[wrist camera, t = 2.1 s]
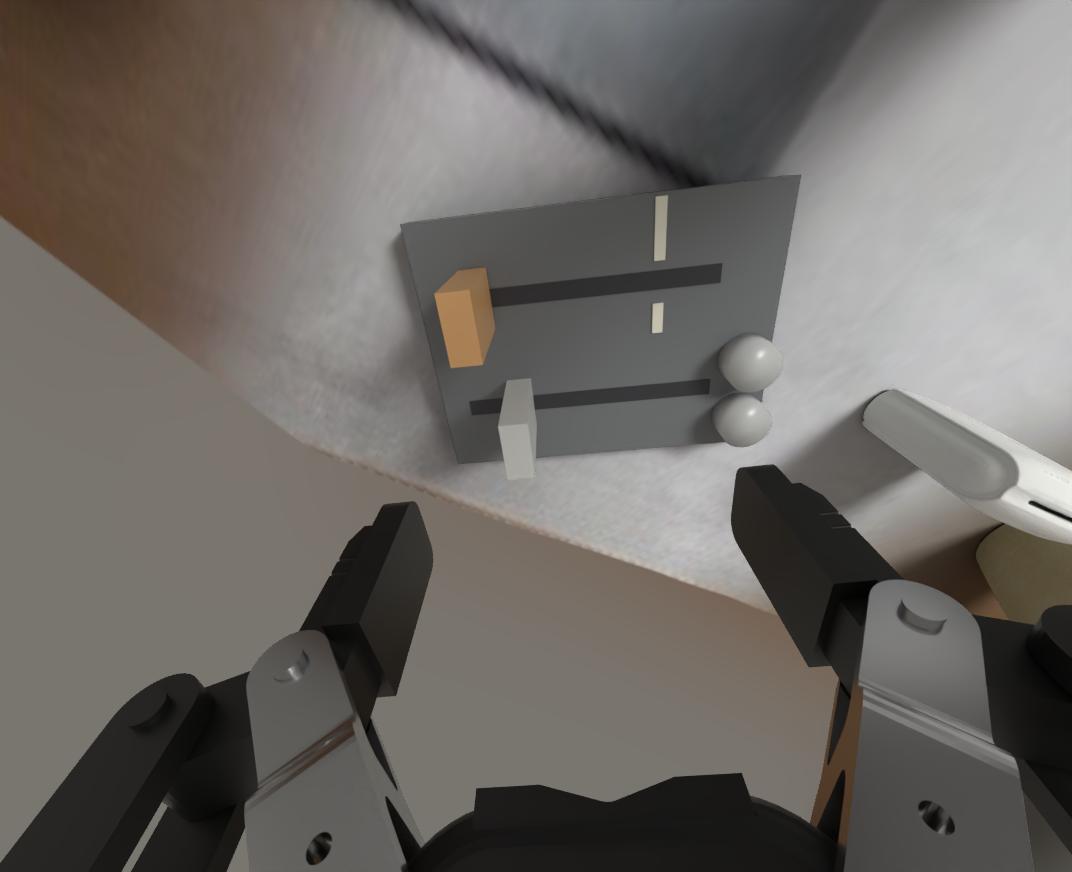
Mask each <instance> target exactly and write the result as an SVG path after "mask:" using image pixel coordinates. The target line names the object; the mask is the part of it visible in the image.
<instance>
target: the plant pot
mask: <svg viewBox="0 0 1072 872" xmlns="http://www.w3.org/2000/svg"><path fill="white" fill-rule="evenodd" d="M976 560H977V562H978V564H979V566H980V568H981V570H982V572H983V574H984V576H985V578H986V580H987V582H988V584H989V586H990V588H991V590H992V592H993V593H994V595H995V597H996V599H997V600H998V602H999V604H1000V606H1001V607H1002V609H1003V611H1004V612H1005V614H1006V616H1007V617H1008V619H1009V621H1014V622H1021V623H1027V624H1033V625H1035V624H1036V622H1037V621H1038V619H1039V618H1040V616H1041V615H1042V613H1043V612H1044V611H1045V610H1046V609H1048V608H1049V607H1053V606H1056V605H1072V545H1071V544H1065V543H1060V542H1056V541H1051V540H1047V539H1044V538H1041V537H1037V536H1035V535H1032V534H1029V533H1027V532H1024V531H1022V530H1019V529H1017V528H1014V527H1012V526H1010V525H1007V524H1004V525H1002V526H1001V527H999V528H997V529H996V530H994V531H993V532H991V533H990V534H989V535H988V536H987V537H985V538H984V540H983V541H982V542H981V543H980V545H979V546H978V548H977V552H976Z"/></svg>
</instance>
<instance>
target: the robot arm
mask: <svg viewBox="0 0 1072 872" xmlns="http://www.w3.org/2000/svg"><path fill="white" fill-rule="evenodd" d="M731 525H732V531H733V535H734V538H735V540H736V542H737V544H738V546H739V548H740V549H741V551H742V553H743V555H744V556H745V558H746V560H747V561H748V563H749V565H750V567H751V568H752V570H753V572H754V574H755V575H756V577H757V579H758V580H759V582H760V584H761V586H762V587H763V589H764V591H765V593H766V594H767V596H768V598H769V599H770V601H771V603H772V605H773V606H774V608H775V610H776V611H777V613H778V615H779V617H780V618H781V620H782V622H783V624H784V625H785V627H786V628H787V630H788V632H789V634H790V635H791V637H792V639H793V641H794V643H795V644H796V646H797V648H798V649H799V651H800V653H801V655H802V656H803V658H804V660H805V661H806V663H807V665H808V666H809V667H819V666H832V667H833V669H834V671H835V673H836V674H837V676H838V677H839V680H838V683H837V686H836V690H835V697H834V703H833V709H832V715H831V721H830V727H829V733H828V739H827V745H826V751H825V757H824V763H823V769H822V774H821V780H820V784H819V788H818V791H817V795H816V799H815V802H814V807H813V811H812V815H811V820H810V823H808V822H807V821H805V820H804V819H802V818H801V817H799V816H797V815H796V814H794V813H792V812H790V811H788V810H786V809H784V808H782V807H780V806H778V805H776V804H773V803H770V802H768V801H766V800H763V799H760V798H757V797H753V796H750V795H749V792H748V790H747V787H746V784H745V781H744V778H743V776H742V773H733V774H716V775H699V776H682V777H673V778H671V779H668V780H666V781H663V782H661V783H658V784H656V785H653V786H651V787H648V788H646V789H643V790H641V791H638V792H636V793H633V794H631V795H628V796H626V797H623V798H621V799H618V800H616V801H613V802H603V801H598V800H595V799H591V798H587V797H584V796H580V795H576V794H572V793H568V792H564V791H561V790H557V789H553V788H550V787H546V786H542V785H528V786H513V787H512V786H511V787H493V788H478V789H476V798H475V807H474V811H472V812H470V813H467V814H465V815H463V816H462V817H460V818H458V819H456V820H454V821H453V822H451V823H450V824H448V825H447V826H446V827H444V828H443V829H442V830H440V831H439V832H438V833H436V834H435V835H434V836H433V837H432V838H431V839H430V840H429V841H428V842H427V843H425V842H424V839H423V837H422V835H421V832H420V830H419V828H418V826H417V824H416V822H415V819H414V818H413V815H412V813H411V811H410V809H409V807H408V805H407V803H406V800H405V798H404V796H403V793H402V791H401V788H400V785H399V783H398V780H397V778H396V775H395V773H394V770H393V767H392V765H391V762H390V760H389V757H388V755H387V752H386V749H385V747H384V744H383V742H382V739H381V737H380V734H379V732H378V729H377V727H376V724H375V722H374V719H373V718H372V715H371V714H372V711H373V708H374V704H375V701H376V698H377V697H387V696H396V694H397V690H398V687H399V684H400V680H401V677H402V673H403V669H404V666H405V663H406V659H407V656H408V652H409V648H410V645H411V641H412V638H413V635H414V630H415V628H416V624H417V620H418V617H419V613H420V610H421V606H422V603H423V600H424V596H425V592H426V589H427V586H428V582H429V578H430V575H431V571H432V567H433V552H432V547H431V543H430V540H429V537H428V534H427V531H426V528H425V525H424V522H423V519H422V516H421V513H420V510H419V508H418V505H417V504H416V503H415V502H414V501H412V502H403V503H402V502H401V503H392V504H385V505H383V506H382V508H381V509H380V512H379V513H378V515H377V517H376V519H375V521H374V523H373V525H372V526H365V527H363V528H362V529H361V530H360V531H359V532H358V533H357V534H356V535H355V536H354V537H353V538H352V539H351V540H350V541H349V542H348V544H347V546H346V547H345V549H344V551H343V553H342V555H341V556H340V558H339V559H340V561H339V562H337V564H336V565H335V567H334V569H333V571H332V576H330V577H329V578H328V580H327V582H326V584H325V585H324V587H323V589H322V591H321V593H320V594H319V596H318V598H317V600H316V601H315V603H314V605H313V607H312V609H311V611H310V612H309V614H308V616H307V618H306V620H305V621H304V623H303V625H302V627H301V629H300V630H299V632H296V633H293V634H290V635H288V636H286V637H284V638H283V639H281V640H279V641H278V642H276V643H275V644H273V645H272V646H271V647H270V648H268V649H267V650H266V651H265V652H264V653H263V654H262V656H260V658H259V659H258V660H257V662H256V663H255V664H254V666H253V667H252V669H251V671H249V672H246V673H244V674H241V675H238V676H235V677H233V678H230V679H227V680H225V681H222V682H219V683H217V684H214V685H211V686H208V687H206V688H205V687H203V685H202V684H201V683H200V682H199V681H198V679H197V678H196V677H195V676H193V675H191V674H186V673H183V674H176V675H172V676H168V677H166V678H163V679H161V680H159V681H157V682H155V683H153V684H151V685H150V686H148V687H146V688H145V689H143V690H142V691H140V692H139V693H138V694H136V695H135V696H134V697H132V698H131V699H130V700H129V701H128V702H127V703H126V704H125V705H124V706H123V707H122V708H121V709H120V710H119V711H118V712H117V713H116V714H115V715H114V717H113V718H112V719H111V720H110V721H109V723H108V724H107V725H106V727H105V728H104V729H103V731H102V732H101V733H100V735H99V736H98V737H97V739H96V740H95V741H94V742H93V744H92V745H91V746H90V747H89V749H88V750H87V751H86V753H85V754H84V755H83V757H82V758H81V759H80V760H79V762H78V763H77V764H76V766H75V767H74V768H73V769H72V771H71V772H70V773H69V775H68V776H67V777H66V779H65V780H64V781H63V783H62V784H61V785H60V786H59V788H58V789H57V790H56V792H55V793H54V794H53V795H52V797H51V798H50V799H49V801H48V802H47V803H46V804H45V806H44V807H43V808H42V810H41V811H40V812H39V814H38V815H37V816H36V817H35V819H34V820H33V821H32V823H31V824H30V825H29V827H28V828H27V829H26V830H25V832H24V833H23V834H22V836H21V837H20V838H19V840H18V841H17V842H16V843H15V845H14V846H13V847H12V849H11V850H10V851H9V853H8V854H7V855H6V856H5V858H4V859H3V860H2V862H1V863H0V872H122V870H123V868H124V866H125V864H126V862H127V861H128V859H129V857H130V856H131V854H132V852H133V851H134V849H135V847H136V846H137V844H138V842H139V840H140V838H141V837H142V835H143V833H144V832H145V830H146V828H147V827H148V825H149V823H150V821H151V820H152V818H153V816H154V814H155V812H156V811H157V809H158V808H159V806H160V804H161V802H163V803H164V804H166V805H167V806H168V807H167V809H166V811H165V813H164V814H163V816H162V818H161V820H160V821H159V823H158V825H157V827H156V828H155V830H154V832H153V834H152V836H151V838H150V839H149V841H148V843H147V844H146V846H145V848H144V850H143V851H142V853H141V855H140V857H139V858H138V861H137V862H136V864H135V866H134V868H133V869H132V871H131V872H226V871H227V869H228V867H229V864H230V862H231V860H232V857H233V855H234V853H235V850H236V848H237V845H238V843H239V841H240V838H241V836H242V834H243V831H244V829H246V840H247V851H248V861H249V872H1034V869H1033V862H1032V855H1031V849H1030V842H1029V835H1028V828H1027V821H1026V815H1025V808H1024V802H1023V794H1022V790H1023V791H1024V792H1025V794H1026V795H1027V797H1028V798H1029V799H1030V801H1031V802H1032V803H1033V804H1034V806H1035V807H1036V808H1037V809H1038V811H1039V812H1040V814H1041V815H1042V816H1043V817H1044V819H1045V820H1046V821H1047V823H1048V824H1049V825H1050V827H1051V828H1052V829H1053V831H1055V833H1056V834H1057V836H1058V837H1059V838H1060V840H1061V841H1062V842H1063V844H1064V845H1065V846H1066V848H1067V849H1068V850H1069V851H1070V853H1071V854H1072V605H1056V606H1053V607H1049V608H1048V609H1046V610H1045V611H1044V612H1043V613H1042V615H1041V616H1040V618H1039V619H1038V621H1037V622H1036V624H1035V625H1033V624H1027V623H1021V622H1014V621H1008V620H1002V619H996V618H990V617H984V616H978V615H973V614H971V613H970V612H969V611H968V610H967V609H966V608H965V607H963V606H962V605H961V604H960V603H959V602H957V601H956V600H954V599H953V598H951V597H950V596H948V595H946V594H944V593H943V592H941V591H939V590H936V589H934V588H932V587H929V586H927V585H924V584H921V583H917V582H913V581H907V580H904V579H903V578H902V577H901V576H900V575H899V574H898V573H897V572H896V571H895V570H894V569H893V568H892V567H891V566H890V565H889V564H888V563H887V562H886V561H885V560H884V558H883V557H882V556H881V555H880V554H879V553H878V552H877V551H876V550H875V549H874V548H873V547H872V546H871V545H870V544H869V543H868V542H867V541H866V540H865V539H864V538H863V537H862V536H861V535H860V534H859V533H858V532H857V530H856V529H855V528H851V524H850V523H849V522H848V521H847V520H846V519H845V518H844V517H843V516H842V515H841V514H840V515H839V514H838V511H837V510H836V509H835V508H834V507H833V506H832V505H831V503H830V502H829V501H828V500H827V499H826V498H825V497H824V496H823V495H821V494H819V493H818V492H816V491H814V490H812V489H811V488H809V487H807V486H805V485H803V484H802V483H794V484H792V483H791V482H790V481H789V480H788V479H787V477H786V476H785V475H784V474H783V473H782V472H781V471H780V470H779V469H778V468H777V467H776V466H775V465H762V466H752V467H743V468H739V469H738V471H737V473H736V479H735V488H734V496H733V505H732V513H731Z"/></svg>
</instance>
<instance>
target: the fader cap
mask: <svg viewBox="0 0 1072 872" xmlns="http://www.w3.org/2000/svg"><path fill="white" fill-rule="evenodd" d="M434 295H435V300H436V304H437V309H438V313H439V318H440V322H441V327H442V331H443V336H444V340H445V345H446V349H447V354H448V358H449V362H450V367H451V368H457V367H468V366H478V365H483V363H484V360H485V357H486V354H487V352H488V349H489V346H490V343H491V340H492V337H493V334H494V331H495V322H494V316H493V310H492V304H491V297H490V291H489V285H488V278H487V272H486V267H483V268H474V269H466V270H458V271H457V272H456V273H455V274H454V275H453V276H452V277H451V278H450V279H449V280H448V281H447V282H446V283H445V284H444V285H443V286H442V287H441V288H440V289H439V290H438V291H437V292H435V293H434Z"/></svg>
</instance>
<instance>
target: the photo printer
mask: <svg viewBox="0 0 1072 872" xmlns="http://www.w3.org/2000/svg"><path fill="white" fill-rule="evenodd" d="M863 419H864V421H863V422H862V424H863V425H864V427H866V428H867V429H868V430H869V431H870V432H871V433H872V434H874V435H875V436H877V437H878V438H879V439H881V440H882V441H883V442H885V443H886V444H887V445H889V446H890V447H891V448H893V449H894V450H895V451H897V452H898V453H900V454H901V455H902V456H904V457H905V458H906V459H908V460H909V461H910V462H912V463H913V464H914V465H916V466H917V467H918V468H920V469H921V470H923V471H924V472H925V473H927V474H928V475H929V476H931V477H932V478H933V479H935V480H936V481H937V482H939V483H940V484H941V485H943V486H944V487H945V488H947V489H948V490H949V491H951V492H952V493H953V494H955V495H956V496H957V497H959V498H960V499H961V500H963V501H964V502H965V503H967V504H968V505H970V506H971V507H973V508H975V509H977V510H978V511H980V512H982V513H984V514H986V515H988V516H990V517H992V518H994V519H996V520H999V521H1001V522H1003V523H1005V524H1007V525H1010V526H1012V527H1014V528H1017V529H1019V530H1022V531H1024V532H1027V533H1029V534H1032V535H1035V536H1037V537H1041V538H1044V539H1047V540H1051V541H1056V542H1060V543H1065V544H1071V545H1072V471H1070V470H1068V469H1067V468H1065V467H1063V466H1061V465H1059V464H1057V463H1055V462H1054V461H1052V460H1050V459H1048V458H1046V457H1044V456H1043V455H1041V454H1039V453H1037V452H1035V451H1033V450H1032V449H1030V448H1028V447H1026V446H1024V445H1022V444H1021V443H1019V442H1017V441H1015V440H1013V439H1011V438H1009V437H1008V436H1006V435H1004V434H1002V433H1000V432H998V431H996V430H994V429H992V428H990V427H988V426H986V425H984V424H983V423H981V422H979V421H977V420H975V419H973V418H971V417H969V416H966V415H964V414H962V413H960V412H958V411H956V410H954V409H952V408H949V407H947V406H945V405H942V404H940V403H938V402H935V401H933V400H930V399H928V398H925V397H923V396H920V395H917V394H915V393H912V392H909V391H905V390H901V389H895V388H893V389H892V390H891V391H887V392H884V393H882V394H880V395H879V396H877V397H876V398H875V399H874V400H873V401H872V402H871V403H870V404H869V405H868V406H867V408H866V410H865V412H864V415H863Z"/></svg>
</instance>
